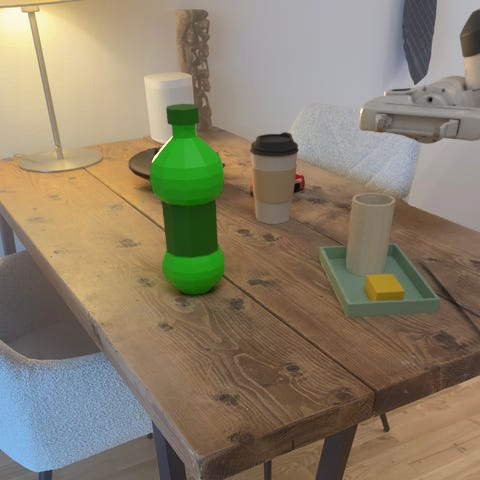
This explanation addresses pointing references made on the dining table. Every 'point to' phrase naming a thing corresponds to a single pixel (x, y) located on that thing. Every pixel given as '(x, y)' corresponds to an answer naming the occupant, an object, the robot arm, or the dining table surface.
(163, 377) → the dining table surface
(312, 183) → the dining table surface
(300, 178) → the race car
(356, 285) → the tray
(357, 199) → the cup
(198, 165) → the plastic bottle
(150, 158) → the oil lamp
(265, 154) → the coffee cup
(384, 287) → the sponge
